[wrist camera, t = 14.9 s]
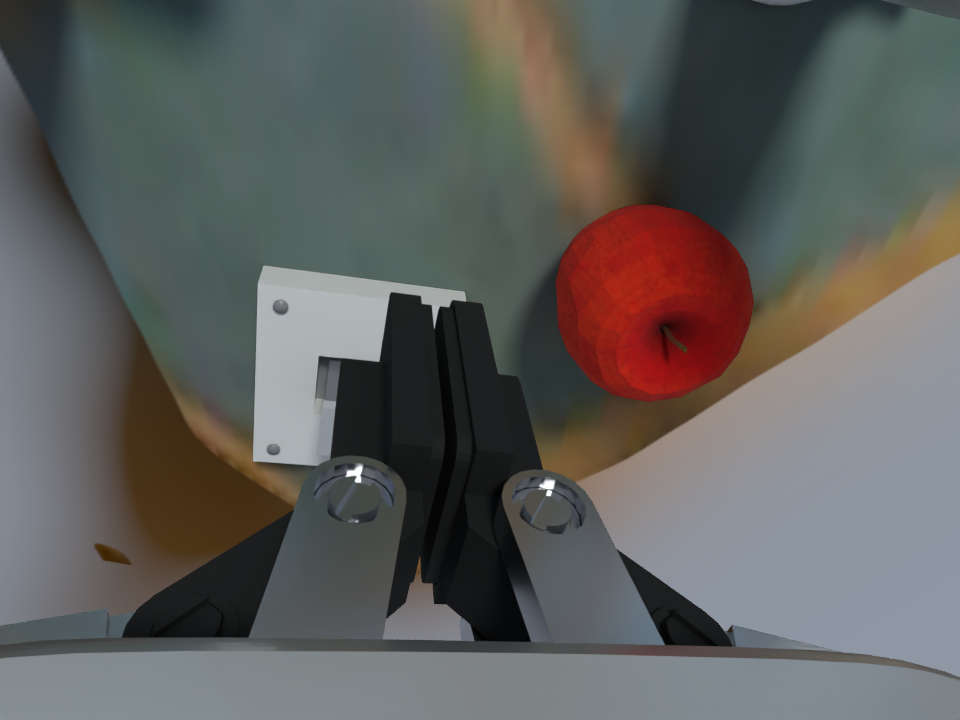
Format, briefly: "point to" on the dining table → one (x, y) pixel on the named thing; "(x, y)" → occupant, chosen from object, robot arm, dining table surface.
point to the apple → (652, 302)
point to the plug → (329, 408)
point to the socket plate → (314, 350)
